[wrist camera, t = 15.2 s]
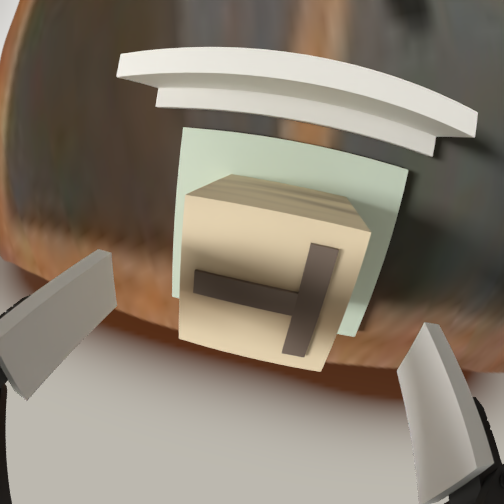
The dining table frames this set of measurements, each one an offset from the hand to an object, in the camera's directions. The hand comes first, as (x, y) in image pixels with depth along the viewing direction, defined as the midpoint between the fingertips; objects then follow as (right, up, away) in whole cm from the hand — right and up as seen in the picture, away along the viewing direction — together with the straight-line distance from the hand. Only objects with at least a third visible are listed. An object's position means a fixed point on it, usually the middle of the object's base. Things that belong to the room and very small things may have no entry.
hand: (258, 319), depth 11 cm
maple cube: (+2, +3, +10) cm, 10 cm away
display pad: (+2, +4, +11) cm, 11 cm away
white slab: (+3, +14, +7) cm, 15 cm away
